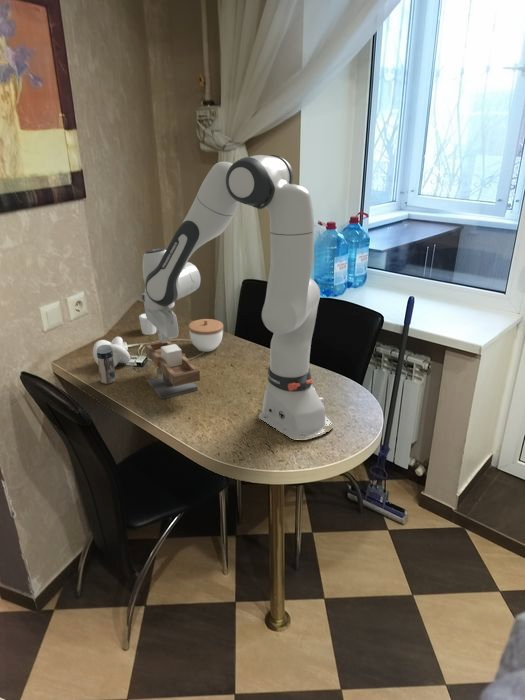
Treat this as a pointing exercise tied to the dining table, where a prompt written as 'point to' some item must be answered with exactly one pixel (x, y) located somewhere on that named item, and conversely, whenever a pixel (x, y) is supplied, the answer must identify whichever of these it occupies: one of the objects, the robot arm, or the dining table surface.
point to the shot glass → (146, 325)
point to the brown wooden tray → (171, 373)
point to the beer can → (106, 364)
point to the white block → (171, 355)
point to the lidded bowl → (206, 334)
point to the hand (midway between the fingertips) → (163, 341)
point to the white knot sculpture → (113, 350)
